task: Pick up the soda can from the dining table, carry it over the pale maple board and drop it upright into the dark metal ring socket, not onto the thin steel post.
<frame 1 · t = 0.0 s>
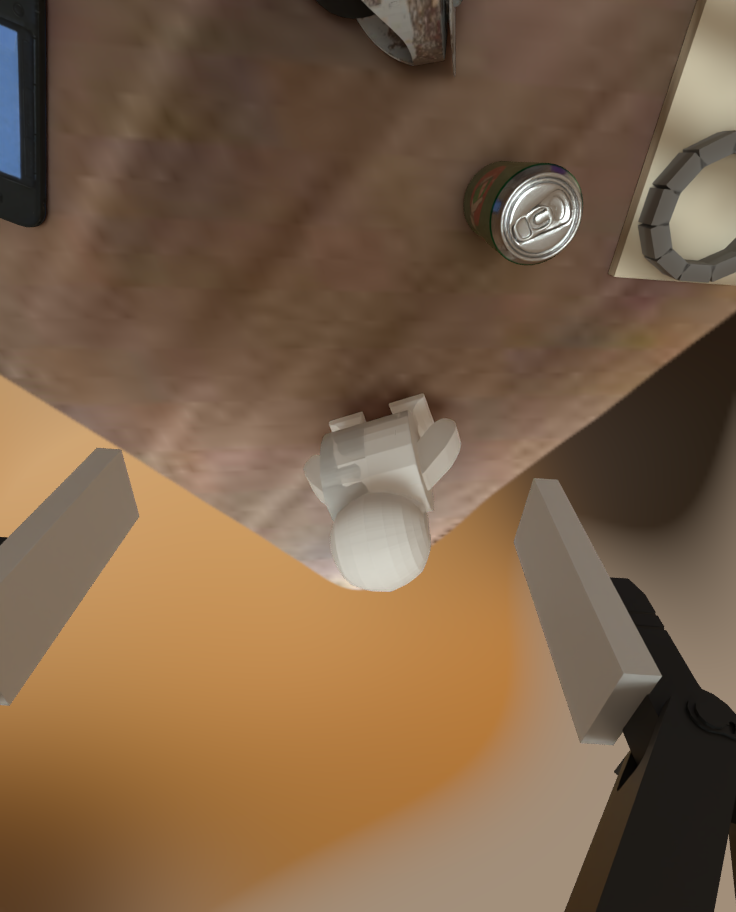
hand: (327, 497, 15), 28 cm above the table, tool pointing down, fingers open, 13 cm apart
soda can: (495, 200, 35), on the table
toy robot: (382, 425, 46), on the table
socket board: (719, 152, 33), on the table
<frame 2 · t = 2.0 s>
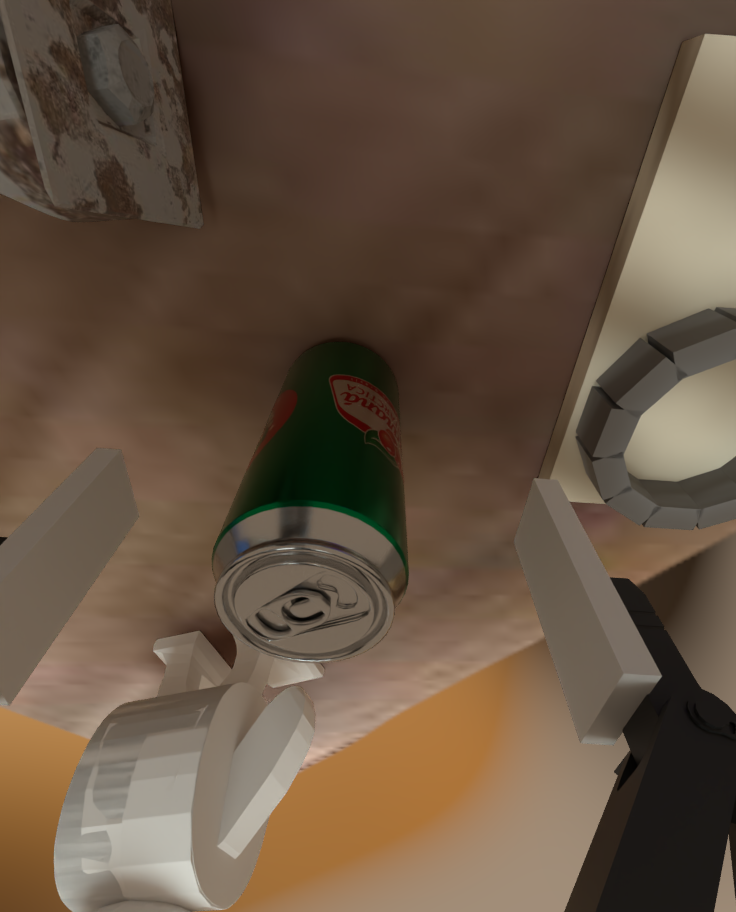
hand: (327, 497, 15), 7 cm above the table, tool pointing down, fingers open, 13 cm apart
soda can: (342, 389, 21), on the table
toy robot: (233, 643, 32), on the table
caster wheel: (22, 20, 15), on the table
socket board: (712, 327, 19), on the table
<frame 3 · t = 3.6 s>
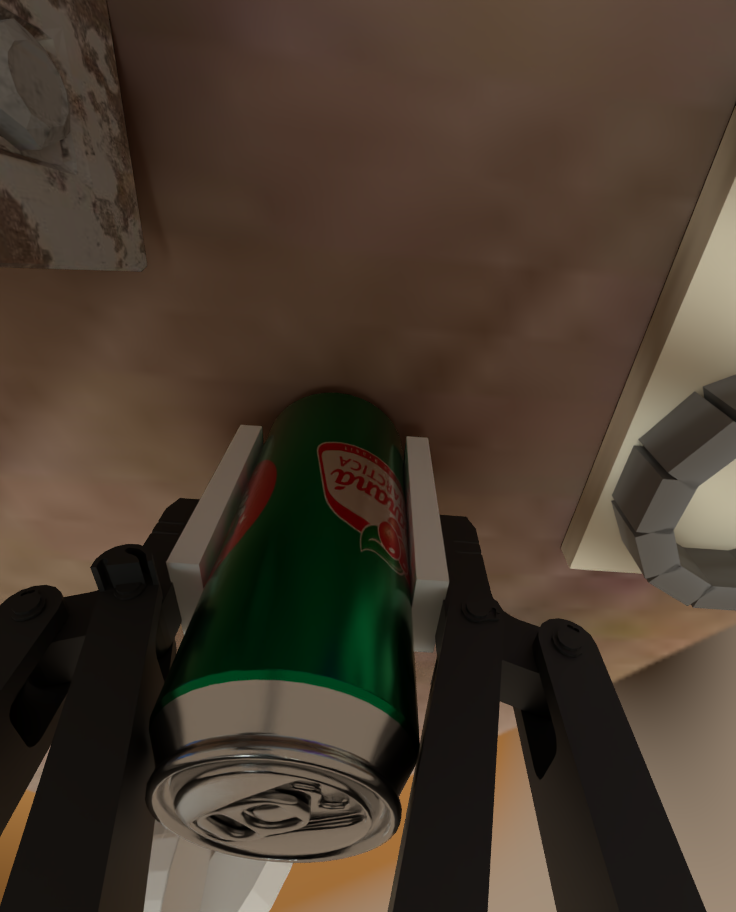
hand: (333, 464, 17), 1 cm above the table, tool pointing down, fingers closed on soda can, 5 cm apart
soda can: (336, 443, 18), on the table, touching gripper
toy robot: (216, 708, 29), on the table
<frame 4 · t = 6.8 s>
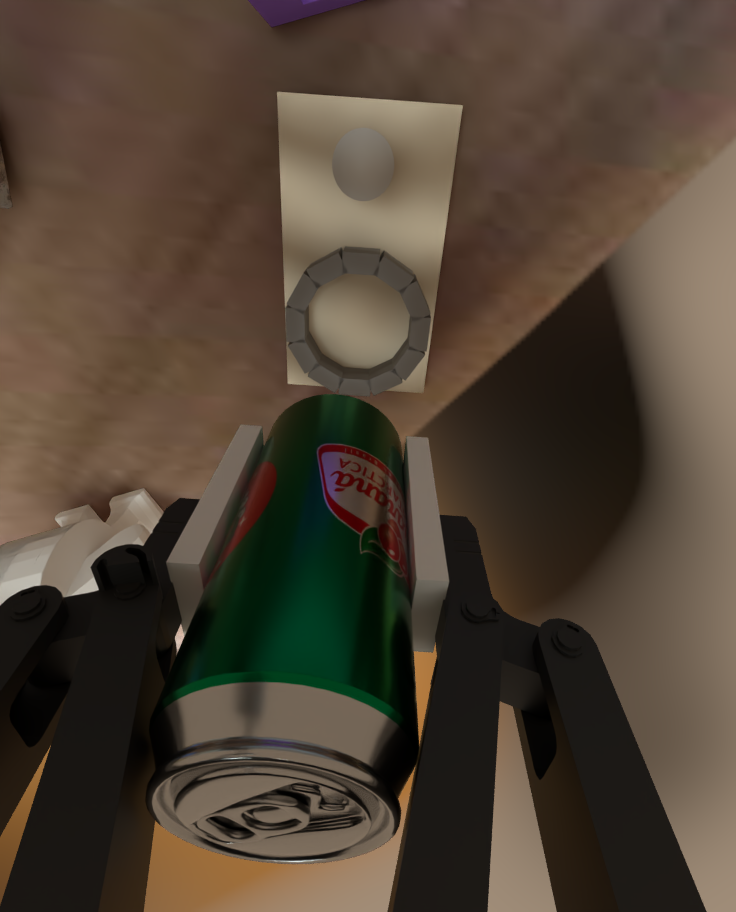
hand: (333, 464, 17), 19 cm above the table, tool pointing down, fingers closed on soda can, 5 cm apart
soda can: (336, 444, 18), point 17 cm above the table, touching gripper
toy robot: (116, 516, 44), on the table
socket board: (362, 262, 31), on the table
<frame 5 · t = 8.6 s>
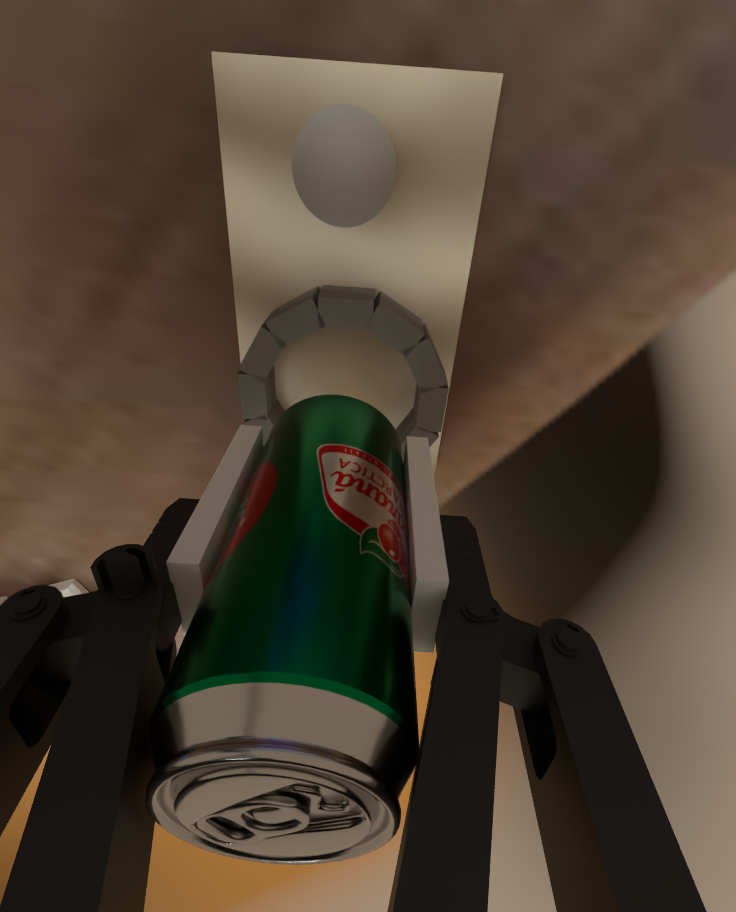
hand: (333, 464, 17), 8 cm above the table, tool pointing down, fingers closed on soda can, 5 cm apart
soda can: (336, 444, 18), point 6 cm above the table, touching gripper
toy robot: (43, 608, 35), on the table
socket board: (349, 305, 21), on the table
when the fingers open (5 cm above the table, at t = 9.9 s): soda can drops 2 cm, resting on socket board.
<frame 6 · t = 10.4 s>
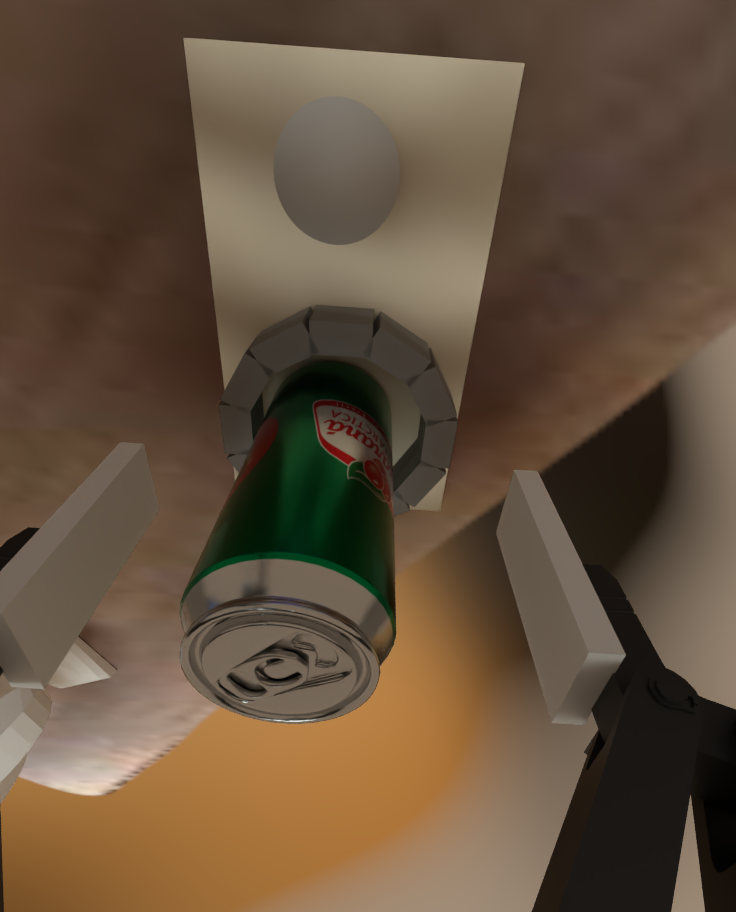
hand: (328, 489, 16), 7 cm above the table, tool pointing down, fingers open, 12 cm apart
soda can: (333, 410, 20), point 1 cm above the table, touching socket board
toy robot: (19, 643, 32), on the table
socket board: (346, 325, 19), on the table
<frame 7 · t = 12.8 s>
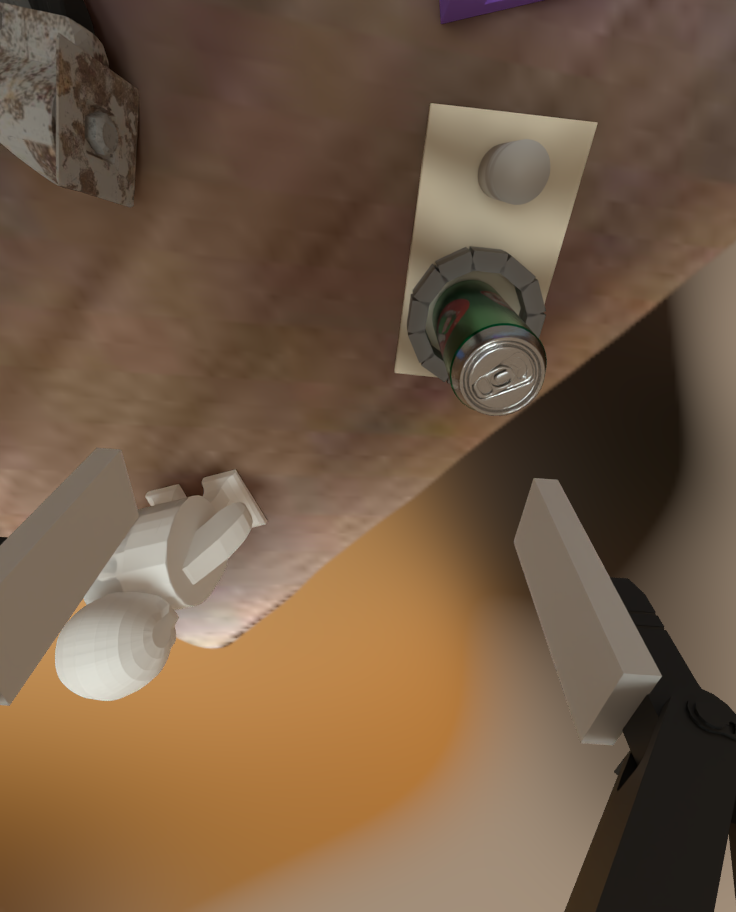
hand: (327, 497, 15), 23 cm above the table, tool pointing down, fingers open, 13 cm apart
soda can: (465, 313, 34), point 1 cm above the table, touching socket board
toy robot: (202, 497, 45), on the table
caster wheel: (60, 80, 29), on the table
socket board: (479, 261, 33), on the table
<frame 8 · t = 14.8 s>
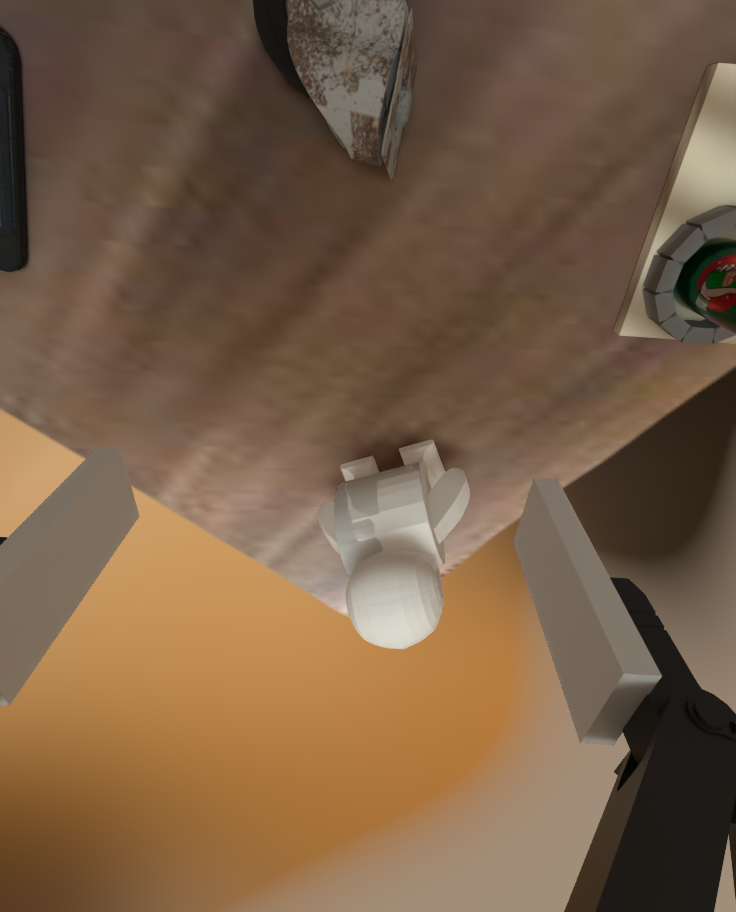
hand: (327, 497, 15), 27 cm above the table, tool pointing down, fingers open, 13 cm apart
soda can: (703, 273, 35), point 1 cm above the table, touching socket board
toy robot: (392, 468, 47), on the table
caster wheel: (340, 57, 30), on the table
socket board: (721, 221, 34), on the table
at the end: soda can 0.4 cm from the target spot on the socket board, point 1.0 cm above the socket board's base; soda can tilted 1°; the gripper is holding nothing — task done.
